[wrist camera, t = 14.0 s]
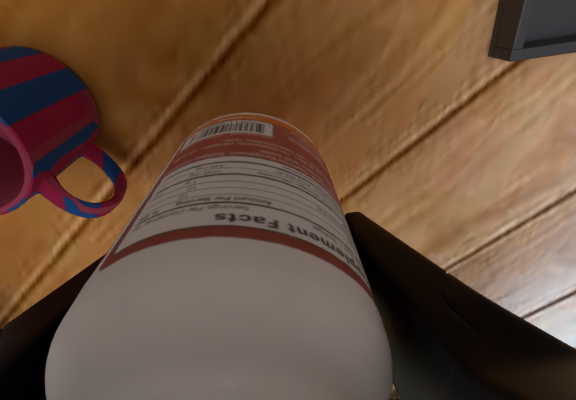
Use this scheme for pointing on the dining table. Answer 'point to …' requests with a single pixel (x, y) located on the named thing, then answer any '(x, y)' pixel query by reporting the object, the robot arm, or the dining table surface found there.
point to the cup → (47, 133)
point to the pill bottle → (228, 284)
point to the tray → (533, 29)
